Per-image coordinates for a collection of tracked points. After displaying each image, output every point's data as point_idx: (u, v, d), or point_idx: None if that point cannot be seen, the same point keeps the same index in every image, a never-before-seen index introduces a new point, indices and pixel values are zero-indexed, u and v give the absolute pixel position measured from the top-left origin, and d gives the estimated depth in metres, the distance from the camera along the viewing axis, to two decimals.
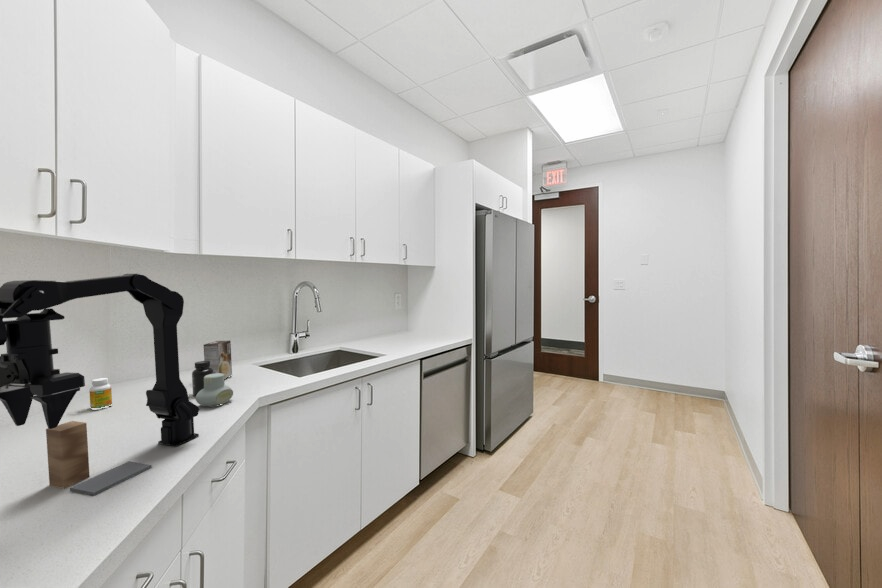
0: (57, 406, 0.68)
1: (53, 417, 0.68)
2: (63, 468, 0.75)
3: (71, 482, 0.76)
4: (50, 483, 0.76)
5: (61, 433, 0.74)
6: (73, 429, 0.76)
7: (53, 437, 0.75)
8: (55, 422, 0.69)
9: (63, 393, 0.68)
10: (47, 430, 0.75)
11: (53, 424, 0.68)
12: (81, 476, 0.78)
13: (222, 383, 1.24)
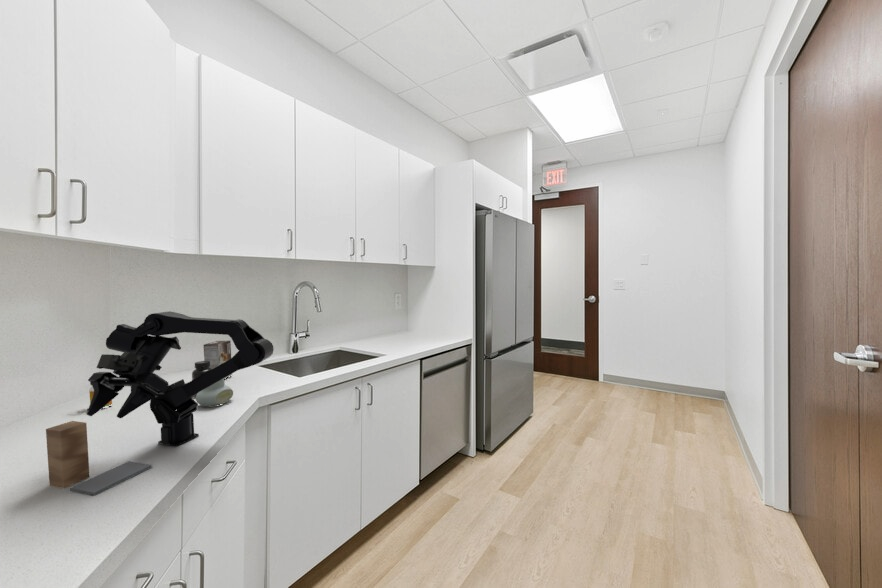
0: (136, 401, 0.85)
1: (127, 408, 0.83)
2: (63, 468, 0.75)
3: (71, 482, 0.76)
4: (50, 483, 0.76)
5: (61, 433, 0.74)
6: (73, 429, 0.76)
7: (53, 437, 0.75)
8: (124, 413, 0.83)
9: (150, 391, 0.86)
10: (47, 430, 0.75)
11: (121, 414, 0.82)
12: (81, 476, 0.78)
13: (222, 383, 1.24)
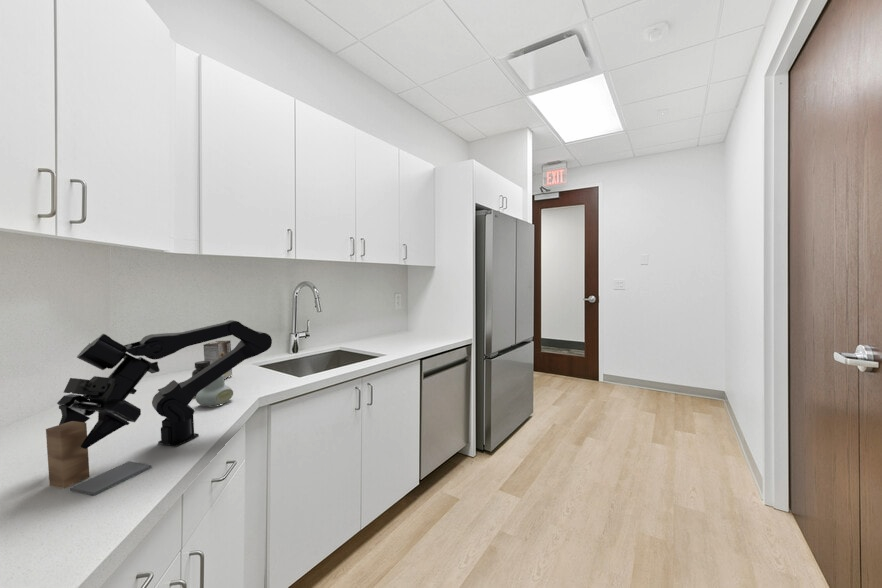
0: (103, 430, 0.79)
1: (93, 437, 0.77)
2: (63, 468, 0.75)
3: (71, 482, 0.76)
4: (50, 483, 0.76)
5: (61, 433, 0.74)
6: (73, 429, 0.76)
7: (53, 437, 0.75)
8: (89, 443, 0.77)
9: (119, 419, 0.79)
10: (47, 430, 0.75)
11: (86, 444, 0.76)
12: (81, 476, 0.78)
13: (222, 383, 1.24)
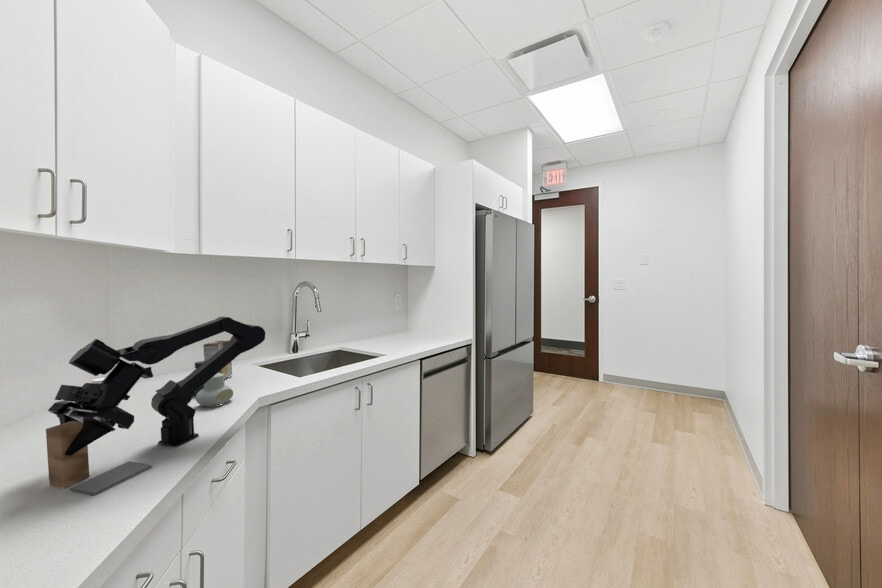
0: (88, 436, 0.78)
1: (77, 444, 0.76)
2: (63, 468, 0.75)
3: (71, 482, 0.76)
4: (50, 483, 0.76)
5: (61, 433, 0.74)
6: (73, 429, 0.76)
7: (53, 437, 0.75)
8: (74, 450, 0.76)
9: (105, 425, 0.79)
10: (47, 430, 0.75)
11: (70, 451, 0.75)
12: (81, 476, 0.78)
13: (222, 383, 1.24)
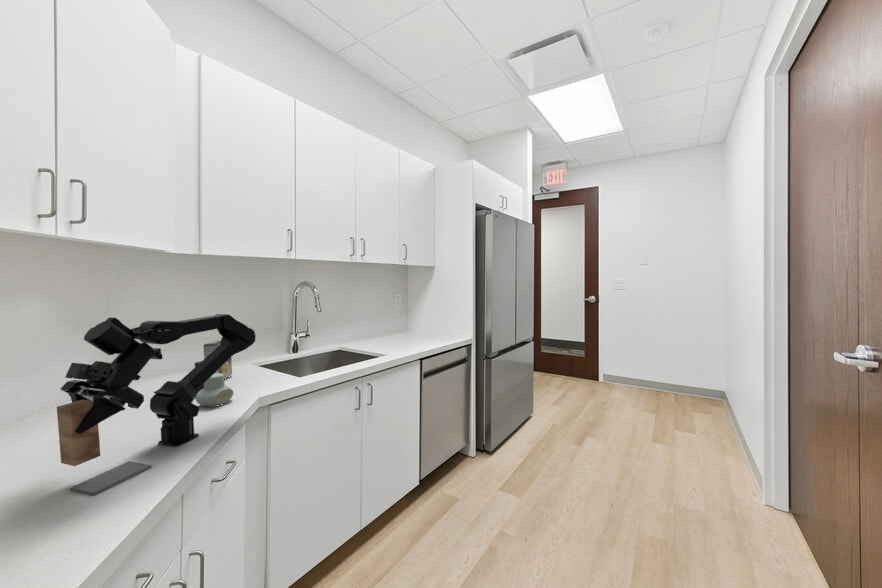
0: (98, 415, 0.77)
1: (88, 422, 0.76)
2: (73, 446, 0.74)
3: (82, 460, 0.75)
4: (62, 461, 0.75)
5: (71, 410, 0.74)
6: (83, 407, 0.76)
7: (63, 415, 0.74)
8: (84, 428, 0.75)
9: (115, 404, 0.78)
10: (58, 408, 0.75)
11: (81, 429, 0.75)
12: (92, 455, 0.77)
13: (222, 383, 1.24)
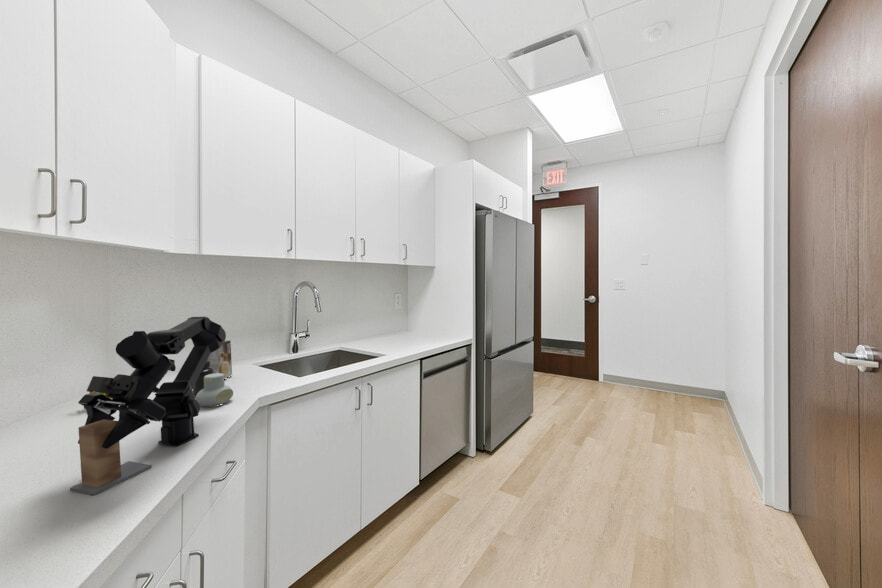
0: (124, 429, 0.76)
1: (114, 437, 0.75)
2: (96, 467, 0.73)
3: (104, 481, 0.75)
4: (82, 483, 0.75)
5: (94, 431, 0.73)
6: (106, 427, 0.75)
7: (86, 435, 0.74)
8: (110, 443, 0.74)
9: (140, 417, 0.77)
10: (80, 428, 0.74)
11: (107, 444, 0.74)
12: (113, 475, 0.76)
13: (222, 383, 1.24)
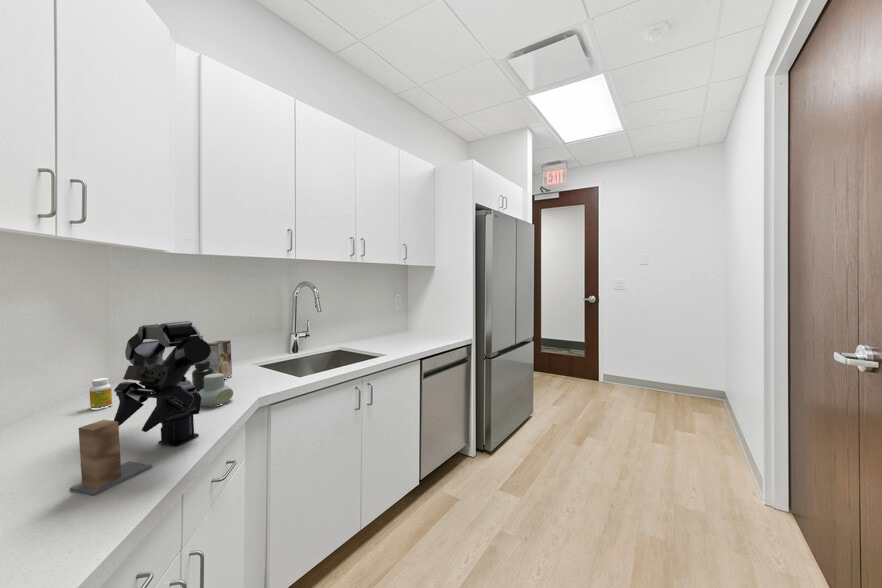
0: (161, 414, 0.82)
1: (152, 421, 0.81)
2: (96, 468, 0.73)
3: (104, 482, 0.75)
4: (83, 483, 0.75)
5: (94, 432, 0.73)
6: (106, 428, 0.75)
7: (86, 436, 0.74)
8: (149, 427, 0.81)
9: (175, 404, 0.83)
10: (80, 429, 0.74)
11: (146, 428, 0.80)
12: (113, 476, 0.76)
13: (222, 383, 1.24)
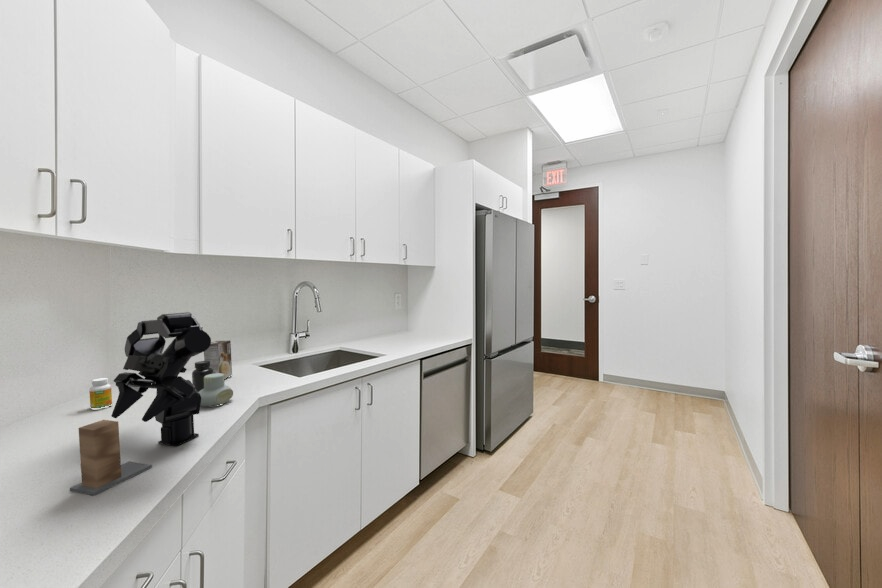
0: (161, 404, 0.82)
1: (152, 411, 0.81)
2: (96, 468, 0.73)
3: (104, 482, 0.75)
4: (83, 483, 0.75)
5: (94, 432, 0.73)
6: (106, 428, 0.75)
7: (86, 436, 0.74)
8: (149, 417, 0.81)
9: (176, 394, 0.83)
10: (80, 429, 0.74)
11: (146, 418, 0.80)
12: (113, 476, 0.76)
13: (222, 383, 1.24)
